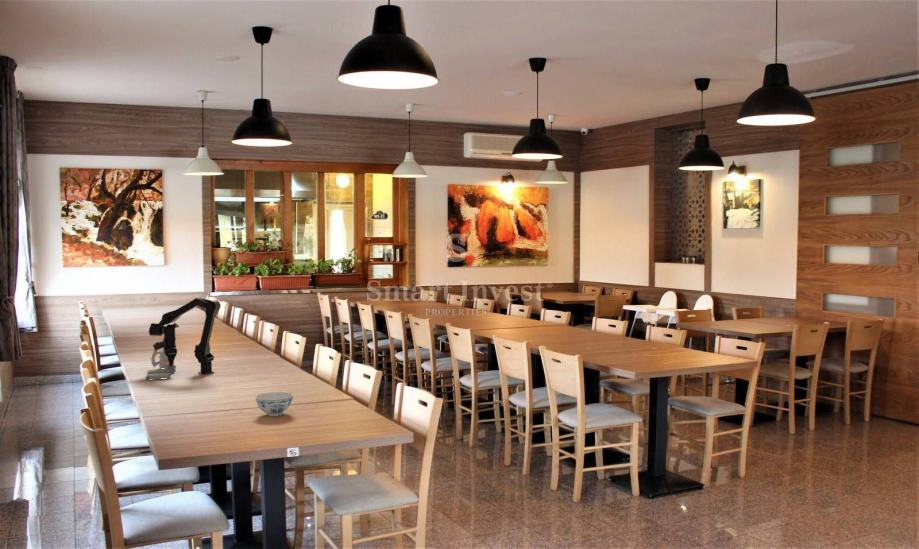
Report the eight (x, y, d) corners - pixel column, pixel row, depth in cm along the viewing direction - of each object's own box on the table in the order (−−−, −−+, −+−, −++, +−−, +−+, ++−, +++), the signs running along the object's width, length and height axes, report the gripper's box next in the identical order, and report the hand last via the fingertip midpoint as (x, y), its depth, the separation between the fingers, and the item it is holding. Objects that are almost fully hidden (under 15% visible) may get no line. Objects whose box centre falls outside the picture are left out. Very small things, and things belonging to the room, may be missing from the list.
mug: (175, 368, 435) (174, 347, 435) (152, 370, 429) (151, 348, 429) (172, 366, 442) (171, 345, 441) (150, 368, 436) (149, 347, 435)
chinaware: (296, 410, 328) (296, 391, 328) (289, 418, 313) (289, 399, 313) (260, 410, 328) (259, 392, 327) (251, 418, 313) (251, 399, 312)
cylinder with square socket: (177, 372, 421) (177, 365, 421) (167, 374, 418) (167, 366, 417) (173, 371, 425) (172, 364, 425) (163, 372, 421) (163, 365, 421)
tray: (169, 379, 403) (169, 374, 403) (147, 380, 399) (147, 375, 399) (168, 374, 416) (168, 370, 416) (147, 376, 412) (146, 371, 412)
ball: (175, 366, 421) (175, 359, 421) (168, 367, 418) (168, 359, 418) (172, 365, 424) (172, 358, 424) (165, 366, 421) (164, 359, 421)
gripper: (153, 334, 426) (153, 363, 427) (154, 338, 409) (154, 368, 409) (174, 333, 430) (175, 361, 431) (176, 337, 413) (177, 367, 414)
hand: (170, 364), depth 421 cm, fingers open, 8 cm apart
